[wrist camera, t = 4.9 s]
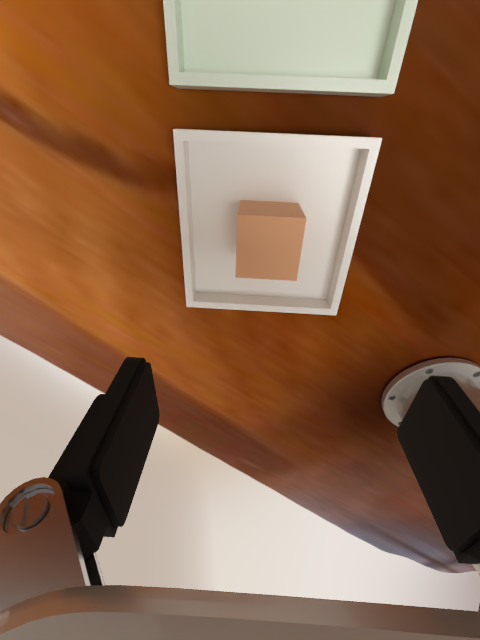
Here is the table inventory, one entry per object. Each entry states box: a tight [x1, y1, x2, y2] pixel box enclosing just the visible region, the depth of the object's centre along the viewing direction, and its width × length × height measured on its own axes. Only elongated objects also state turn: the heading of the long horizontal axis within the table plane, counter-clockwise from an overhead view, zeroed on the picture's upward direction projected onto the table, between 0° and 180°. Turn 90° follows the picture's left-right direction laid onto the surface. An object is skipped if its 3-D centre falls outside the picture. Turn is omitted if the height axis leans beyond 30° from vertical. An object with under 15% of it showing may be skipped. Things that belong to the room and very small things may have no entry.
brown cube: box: [235, 200, 306, 281], centre depth 25 cm, size 5×5×5 cm
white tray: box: [173, 129, 382, 315], centre depth 26 cm, size 15×15×2 cm
